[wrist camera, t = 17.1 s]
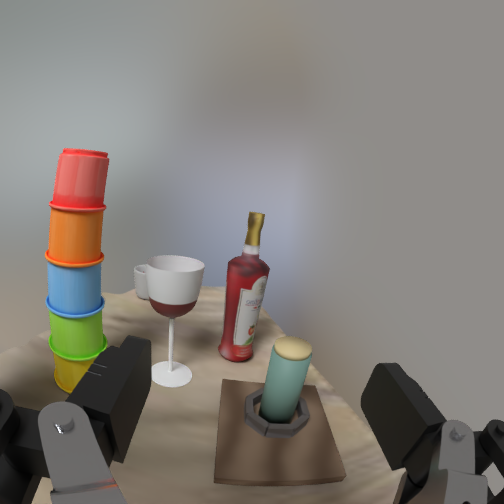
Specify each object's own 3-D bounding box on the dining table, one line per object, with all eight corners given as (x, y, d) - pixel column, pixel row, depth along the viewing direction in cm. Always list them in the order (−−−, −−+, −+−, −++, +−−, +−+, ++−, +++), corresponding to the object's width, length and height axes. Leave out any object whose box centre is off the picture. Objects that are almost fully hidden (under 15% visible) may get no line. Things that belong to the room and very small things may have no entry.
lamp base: (213, 482, 23) (215, 469, 23) (221, 385, 43) (223, 369, 42) (341, 481, 24) (352, 467, 24) (312, 391, 44) (318, 377, 43)
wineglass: (138, 367, 43) (137, 257, 38) (178, 355, 49) (185, 254, 45) (161, 394, 38) (163, 274, 33) (204, 378, 44) (215, 268, 40)
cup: (161, 288, 80) (163, 262, 79) (175, 298, 75) (177, 271, 73) (129, 292, 72) (129, 265, 71) (140, 304, 67) (141, 275, 65)
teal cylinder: (259, 427, 33) (276, 355, 30) (256, 404, 37) (271, 334, 35) (294, 427, 33) (317, 357, 30) (289, 405, 38) (308, 336, 35)
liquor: (234, 342, 58) (255, 210, 52) (260, 358, 53) (287, 217, 47) (208, 352, 52) (226, 208, 46) (234, 370, 48) (259, 215, 42)
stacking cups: (98, 355, 43) (100, 154, 35) (121, 388, 36) (124, 150, 29) (49, 365, 35) (38, 150, 28) (64, 403, 28) (44, 143, 21)
